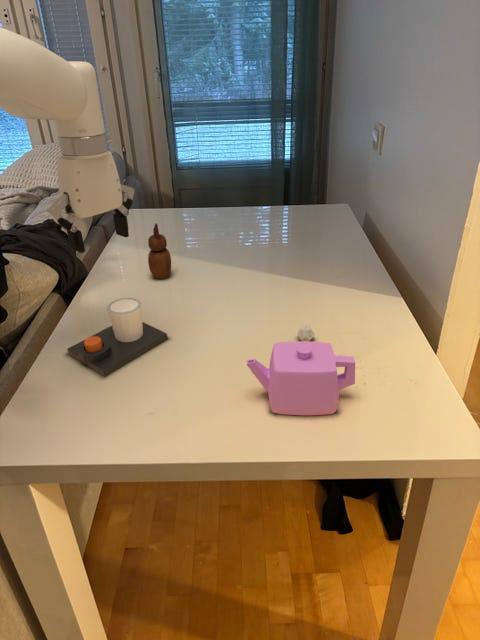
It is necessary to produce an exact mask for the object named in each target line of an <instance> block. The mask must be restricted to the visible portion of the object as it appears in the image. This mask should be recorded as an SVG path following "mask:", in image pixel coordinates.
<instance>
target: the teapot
mask: <svg viewBox="0 0 480 640" xmlns="http://www.w3.org/2000/svg"><path fill="white" fill-rule="evenodd" d="M246 366H247V368H248V369H249V370H250V371H251V373H252V374H253V375H254V377H255V378H256V379H257V381H258V382H259V384H260V385H261V386H262V387H263V389H265V391H266V392H267V394H268V401H269V402H268V404H269V407H270V411H271V412H272V413H274V414H279V415H290V416H325V415H333V414H335V413H336V411H337V410H338V407H339V401H340V390H343V389H345V388H348V387H350V386H353V385H355V384H356V360H355V357H354V355H335V353H334V349H333V346H332V344H331V343H330V342H324V341H309V342H308V341H301V340H299V341H295V340H293V341H277V342H274V344H273V346H272V350H271V355H270V359H269V366H268V367H269V368H268V367H266V366H265V365H264V364H262V363H261V362H259V361H258V360H257V359H256V358H250V359H246ZM338 368H344V371H343V372H342V373H340V374H338Z"/></svg>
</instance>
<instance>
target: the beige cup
mask: <svg viewBox="0 0 480 640" xmlns="http://www.w3.org/2000/svg"><path fill="white" fill-rule="evenodd" d="M106 313H107V315H108V318H109V321H110V326H112V328H113V331H114V334H115V337H116V339H117V340H118V341H121V342H132V341H135V340H138V339H139V338H141V336H142V335H143V325H142V322H143V308H142V302H141V301H140V299H137V298H135V297H124V298H123V297H122V298H118V299H115V300H113V301H110V303H108V304H107V306H106Z"/></svg>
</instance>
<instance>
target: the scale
mask: <svg viewBox="0 0 480 640" xmlns="http://www.w3.org/2000/svg"><path fill="white" fill-rule="evenodd" d="M142 325H143V335H142V336H141V338H139V339H138V340H135V341H132V342H121V341H118V340H117V339H116V337H115V334H114V331H113V328H112V325H110V326H108V327H106V328H105V329H102V330H100V331H98V332H97V333H94V334H93V335H90V337H93V336H97V337H100V338H101V341H102V346H103V347H102V349H101V350H99V351H96V352H87V351H86V349H85V345H84V341H85V340H86V339H87V338H85V339H83V340H81V341H79V342H77V343H75V344H74V345H71V346H69V347H67V353H68V355H69V356H71V357H72V358H74V359H76V360H77V361H79V362H80V363H82V364H83V365H85V366H87V367H88V368H90V369H91V370H93V371H95V372H96V373H98V374H100V375H101V376H103V377H107V376H108V375H110V374H112V373H114V372H115V371H117V370H119V369H120V368H122V367H124V366H126V365H127V364H129V363H130V362H132V361H134V360H135V359H138V358H139V357H140V356H141V355H144V354H145V353H147V352H148V351H150V350H152V349H153V348H155V347H157V346H159V345H161V344H162V343H164V342H165V341H167V340H168V339H169V338H168V337H169V336H168V333H167V332H165V331H163V330H160V329H159V328H157V327H155V326H152V325H150V324H148V323H145V322H144V321H142Z"/></svg>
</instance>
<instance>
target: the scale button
mask: <svg viewBox="0 0 480 640" xmlns="http://www.w3.org/2000/svg"><path fill="white" fill-rule="evenodd" d="M92 336H93V335H92ZM85 339H86V340H85ZM85 339H84V340H85V341H84V345H85V349H86V351H87V352H96V351H99V350H101V349H102V347H103V346H102V341H101V338H100V337H97V336H93V337H91V336H89V337H87V338H85Z"/></svg>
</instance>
